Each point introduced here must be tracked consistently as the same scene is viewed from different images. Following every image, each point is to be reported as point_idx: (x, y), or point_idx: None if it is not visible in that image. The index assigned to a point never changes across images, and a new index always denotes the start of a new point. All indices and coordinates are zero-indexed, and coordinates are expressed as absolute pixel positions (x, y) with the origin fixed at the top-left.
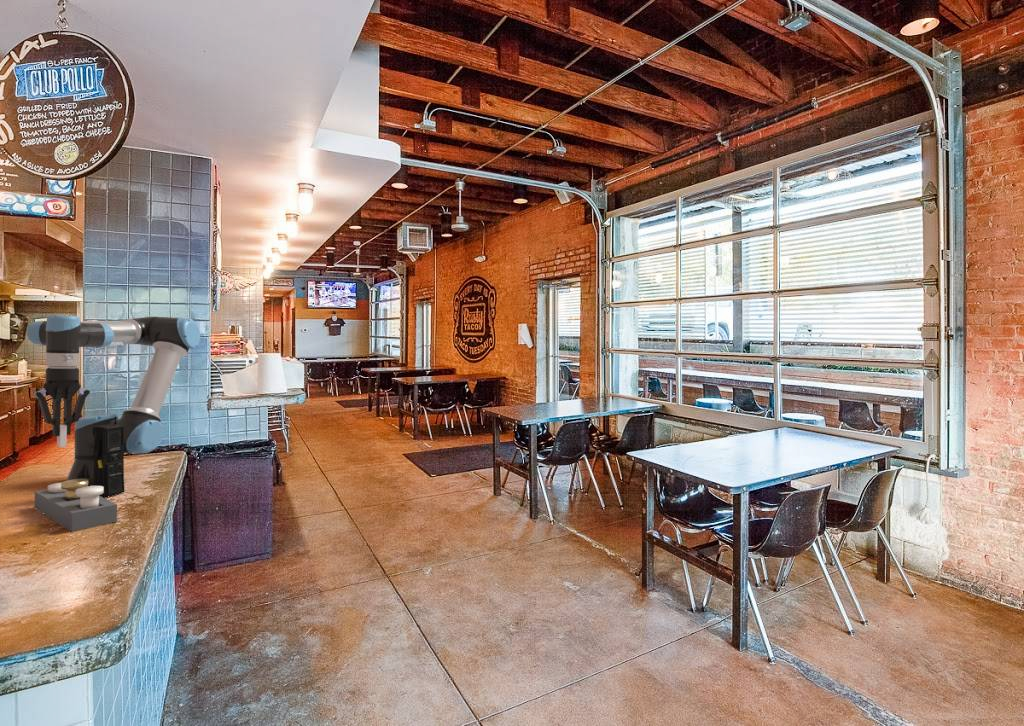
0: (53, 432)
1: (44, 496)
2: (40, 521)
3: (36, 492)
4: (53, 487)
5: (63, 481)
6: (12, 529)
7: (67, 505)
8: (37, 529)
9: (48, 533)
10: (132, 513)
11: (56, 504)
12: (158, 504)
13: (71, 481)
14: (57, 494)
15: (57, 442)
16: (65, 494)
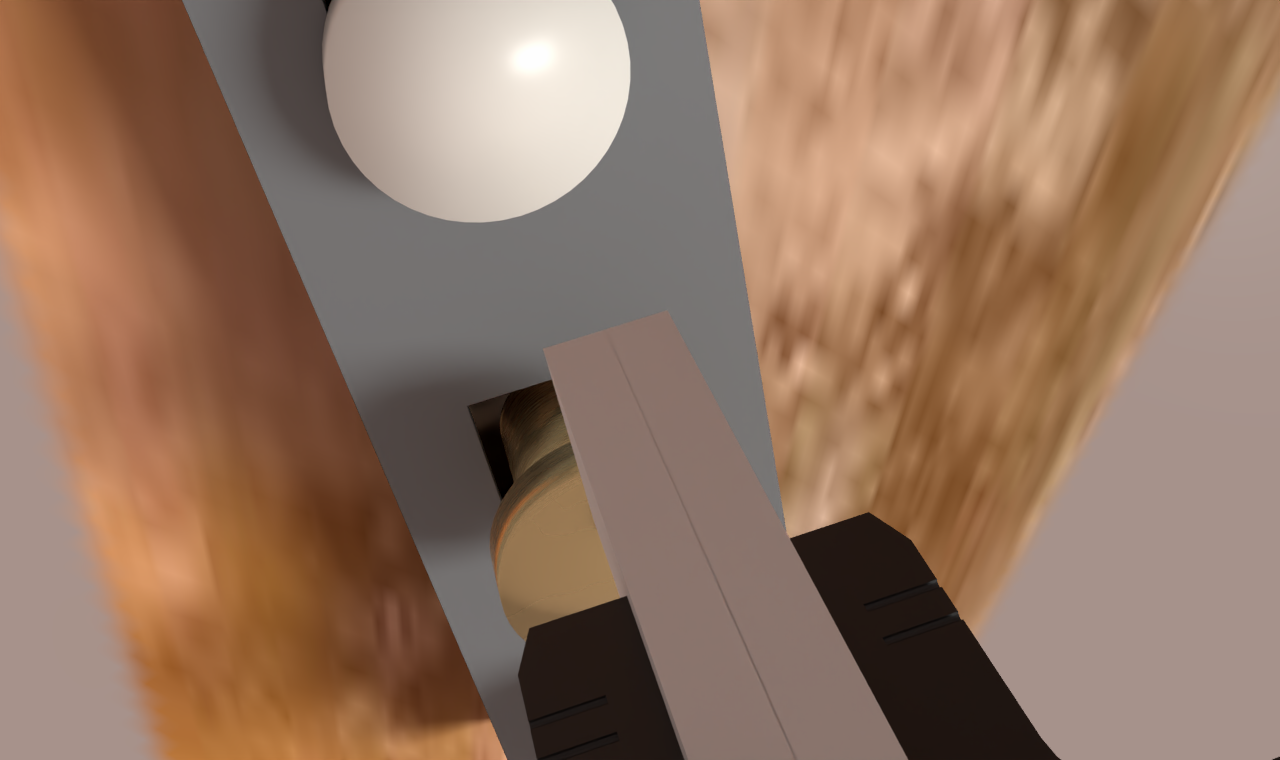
0: (539, 746)
1: (309, 276)
2: (299, 417)
3: (186, 8)
4: (399, 195)
5: (523, 533)
6: (119, 540)
7: (516, 660)
8: (303, 601)
9: (381, 699)
10: (901, 484)
11: (436, 590)
12: (1121, 333)
13: (597, 561)
14: (436, 251)
15: (570, 430)
16: (512, 289)
